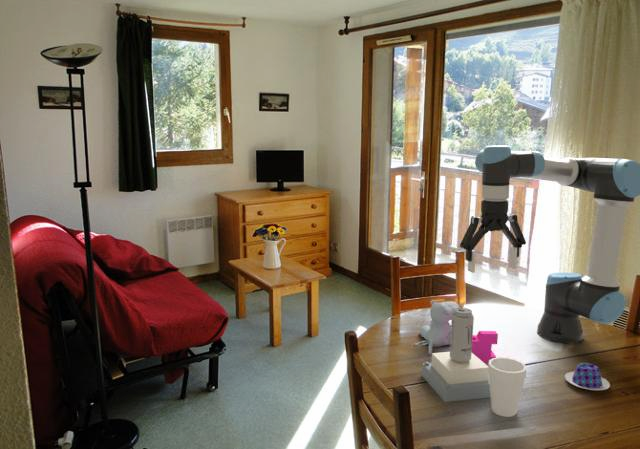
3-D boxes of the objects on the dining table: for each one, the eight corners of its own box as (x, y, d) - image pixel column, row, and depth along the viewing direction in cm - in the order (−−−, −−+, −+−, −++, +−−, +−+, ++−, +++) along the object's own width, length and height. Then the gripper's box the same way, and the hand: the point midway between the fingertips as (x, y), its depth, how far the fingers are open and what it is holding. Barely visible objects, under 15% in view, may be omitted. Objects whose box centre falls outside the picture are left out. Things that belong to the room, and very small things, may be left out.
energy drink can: (465, 366, 146) (468, 315, 143) (445, 360, 150) (448, 310, 147) (474, 359, 150) (477, 310, 148) (455, 353, 154) (457, 305, 152)
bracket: (495, 364, 166) (497, 334, 164) (463, 363, 166) (465, 333, 165) (485, 349, 178) (486, 320, 176) (454, 348, 178) (456, 320, 176)
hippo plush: (472, 344, 181) (474, 301, 178) (429, 355, 172) (431, 310, 169) (443, 330, 194) (444, 290, 191) (401, 339, 185) (402, 298, 182)
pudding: (593, 372, 161) (595, 357, 160) (618, 391, 149) (620, 374, 148) (556, 374, 160) (558, 358, 159) (579, 393, 148) (581, 376, 147)
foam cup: (480, 402, 142) (483, 357, 140) (512, 400, 143) (516, 356, 141) (494, 420, 133) (497, 373, 131) (529, 419, 134) (533, 372, 132)
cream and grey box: (470, 371, 161) (471, 346, 159) (497, 396, 145) (499, 369, 144) (421, 375, 158) (422, 351, 156) (444, 402, 142) (446, 374, 141)
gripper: (525, 195, 157) (521, 263, 161) (449, 199, 152) (447, 269, 156) (540, 198, 150) (536, 269, 154) (461, 203, 145) (459, 276, 149)
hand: (492, 269), depth 155 cm, fingers open, 13 cm apart
